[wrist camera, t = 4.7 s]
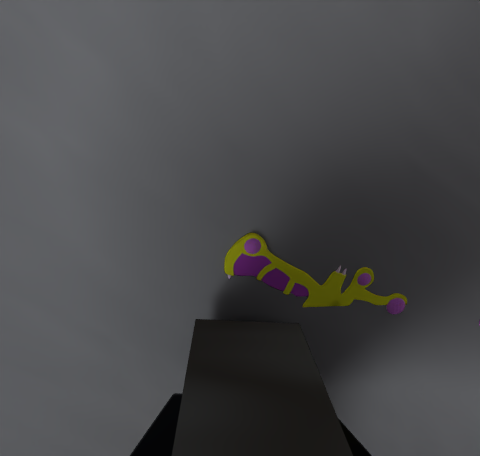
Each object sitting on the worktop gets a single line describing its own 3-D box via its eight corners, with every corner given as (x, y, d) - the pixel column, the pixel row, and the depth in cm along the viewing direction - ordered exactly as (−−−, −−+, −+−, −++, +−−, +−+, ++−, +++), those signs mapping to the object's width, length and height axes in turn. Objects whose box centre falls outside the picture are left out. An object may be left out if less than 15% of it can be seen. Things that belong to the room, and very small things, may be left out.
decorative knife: (486, 400, 11) (576, 293, 10) (498, 413, 10) (594, 302, 9) (199, 317, 9) (257, 171, 8) (198, 328, 9) (259, 173, 7)
